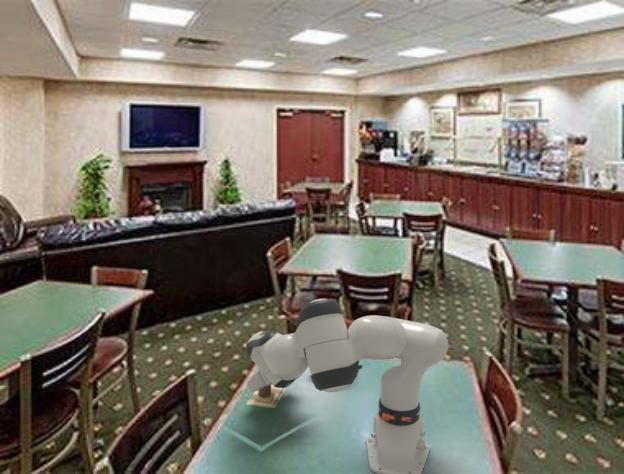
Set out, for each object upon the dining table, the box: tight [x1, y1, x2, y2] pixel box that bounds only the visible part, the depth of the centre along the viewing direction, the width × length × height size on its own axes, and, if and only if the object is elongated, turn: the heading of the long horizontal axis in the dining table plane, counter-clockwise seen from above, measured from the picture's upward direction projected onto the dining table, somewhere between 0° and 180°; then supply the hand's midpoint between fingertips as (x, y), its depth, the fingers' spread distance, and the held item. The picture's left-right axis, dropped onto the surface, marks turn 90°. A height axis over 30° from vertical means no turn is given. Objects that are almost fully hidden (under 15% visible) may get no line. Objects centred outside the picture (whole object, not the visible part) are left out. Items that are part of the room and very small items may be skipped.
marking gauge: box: [255, 385, 275, 403], centre depth 179 cm, size 6×6×9 cm
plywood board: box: [245, 384, 287, 409], centre depth 185 cm, size 22×10×2 cm, turn 168°
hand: (263, 385), depth 179 cm, fingers open, 7 cm apart
